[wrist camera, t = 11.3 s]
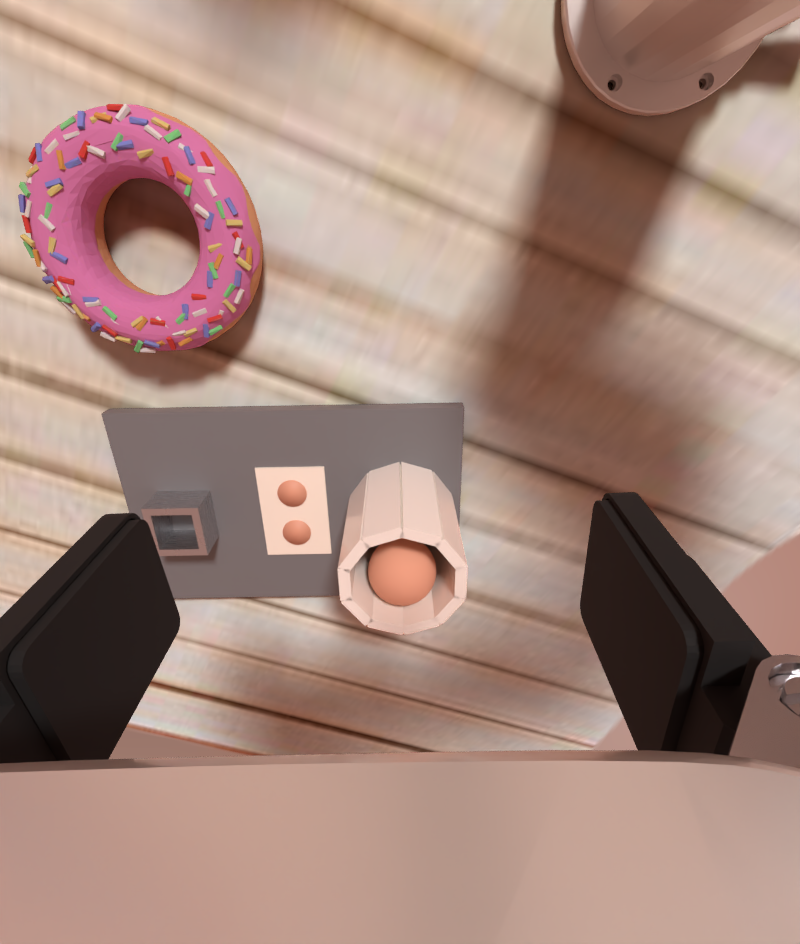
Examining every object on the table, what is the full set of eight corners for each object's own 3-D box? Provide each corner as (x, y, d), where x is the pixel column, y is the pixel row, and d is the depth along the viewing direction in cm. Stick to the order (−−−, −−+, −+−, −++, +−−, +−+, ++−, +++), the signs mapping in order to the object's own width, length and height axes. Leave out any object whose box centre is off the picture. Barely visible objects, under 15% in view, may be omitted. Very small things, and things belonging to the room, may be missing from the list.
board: (462, 402, 40) (464, 409, 39) (454, 585, 48) (456, 595, 47) (109, 408, 40) (99, 415, 39) (159, 590, 48) (152, 601, 46)
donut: (140, 56, 31) (96, 26, 26) (311, 245, 35) (299, 248, 31) (16, 232, 35) (-40, 232, 30) (185, 381, 39) (158, 401, 35)
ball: (432, 533, 35) (450, 602, 35) (420, 524, 40) (436, 584, 40) (361, 553, 34) (381, 623, 34) (359, 541, 39) (375, 602, 39)
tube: (453, 460, 41) (469, 525, 32) (450, 553, 45) (464, 634, 36) (347, 462, 41) (334, 528, 32) (353, 554, 45) (343, 636, 36)
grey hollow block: (210, 490, 42) (197, 508, 39) (219, 535, 44) (207, 555, 41) (157, 491, 42) (141, 509, 39) (168, 536, 44) (153, 556, 41)
